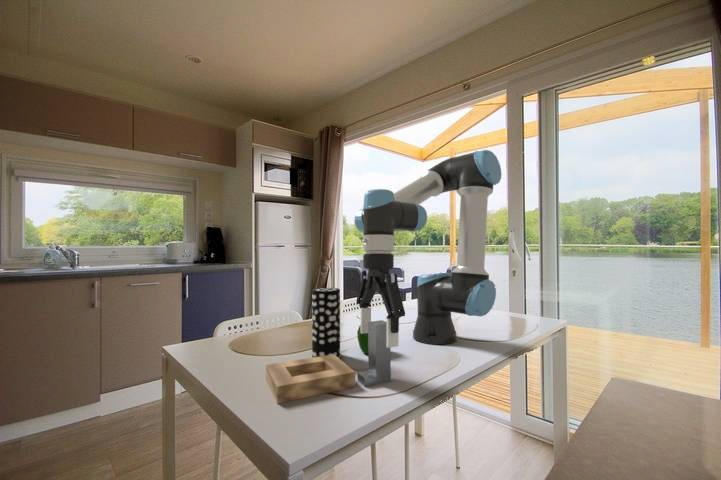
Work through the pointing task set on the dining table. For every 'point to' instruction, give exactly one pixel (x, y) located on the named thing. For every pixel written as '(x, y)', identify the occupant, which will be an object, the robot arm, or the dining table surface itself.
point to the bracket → (377, 356)
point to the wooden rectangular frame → (308, 377)
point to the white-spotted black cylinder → (325, 322)
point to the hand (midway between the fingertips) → (378, 339)
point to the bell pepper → (363, 340)
